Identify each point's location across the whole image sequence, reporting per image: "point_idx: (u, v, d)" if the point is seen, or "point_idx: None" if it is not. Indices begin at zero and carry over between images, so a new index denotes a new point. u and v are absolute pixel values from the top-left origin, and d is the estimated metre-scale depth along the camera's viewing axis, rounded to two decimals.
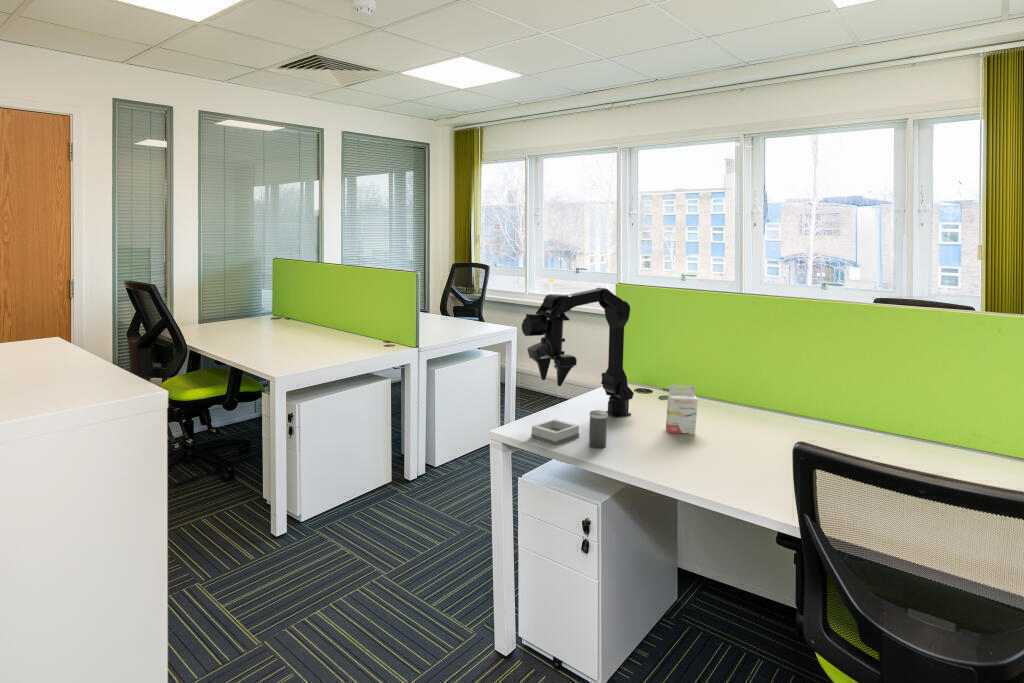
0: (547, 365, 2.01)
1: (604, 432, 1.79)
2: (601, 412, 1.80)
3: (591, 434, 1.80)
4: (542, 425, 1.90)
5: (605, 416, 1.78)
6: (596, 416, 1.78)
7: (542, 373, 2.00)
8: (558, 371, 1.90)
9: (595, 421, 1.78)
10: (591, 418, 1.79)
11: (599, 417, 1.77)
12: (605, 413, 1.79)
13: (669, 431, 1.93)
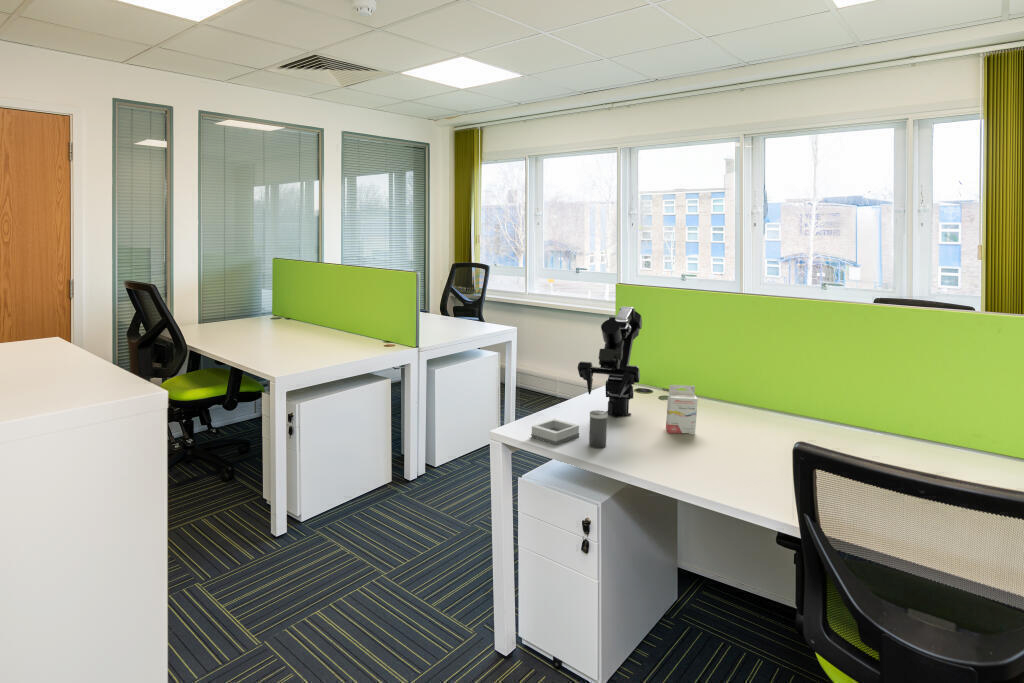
0: (591, 383, 1.91)
1: (604, 432, 1.79)
2: (601, 412, 1.80)
3: (591, 434, 1.80)
4: (542, 425, 1.90)
5: (605, 416, 1.78)
6: (596, 416, 1.78)
7: (590, 386, 1.88)
8: (625, 380, 1.86)
9: (595, 421, 1.78)
10: (591, 418, 1.79)
11: (599, 417, 1.77)
12: (605, 413, 1.79)
13: (669, 431, 1.93)
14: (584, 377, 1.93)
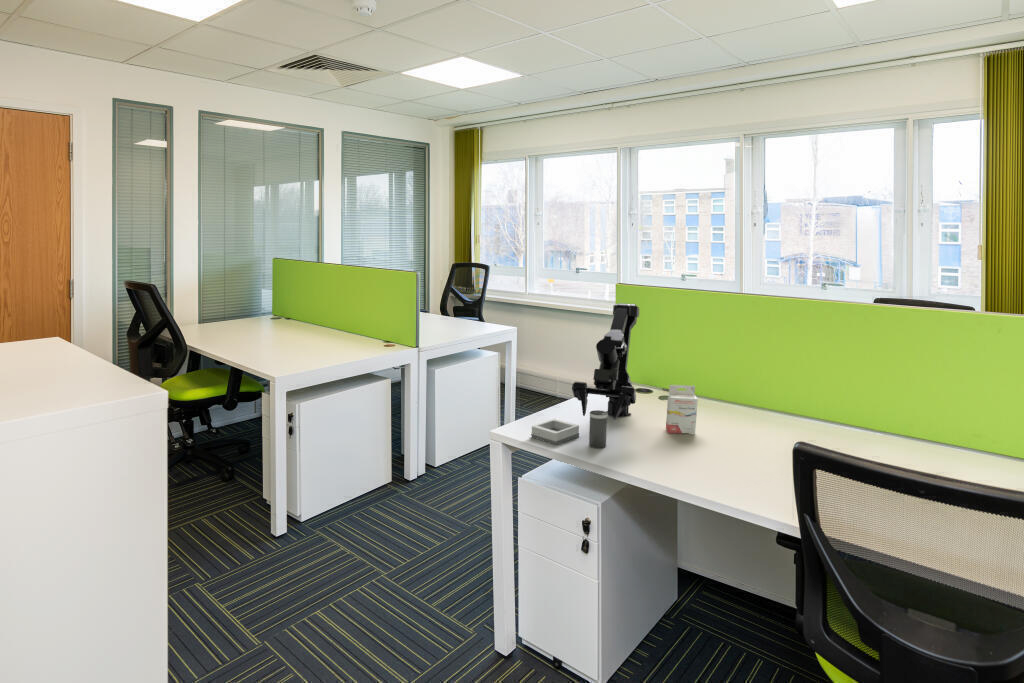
0: (586, 404, 1.86)
1: (604, 432, 1.79)
2: (601, 412, 1.80)
3: (591, 434, 1.80)
4: (542, 425, 1.90)
5: (605, 416, 1.78)
6: (596, 416, 1.78)
7: (585, 407, 1.83)
8: (621, 401, 1.80)
9: (595, 421, 1.78)
10: (591, 418, 1.79)
11: (599, 417, 1.77)
12: (605, 413, 1.79)
13: (669, 431, 1.93)
14: (579, 398, 1.88)
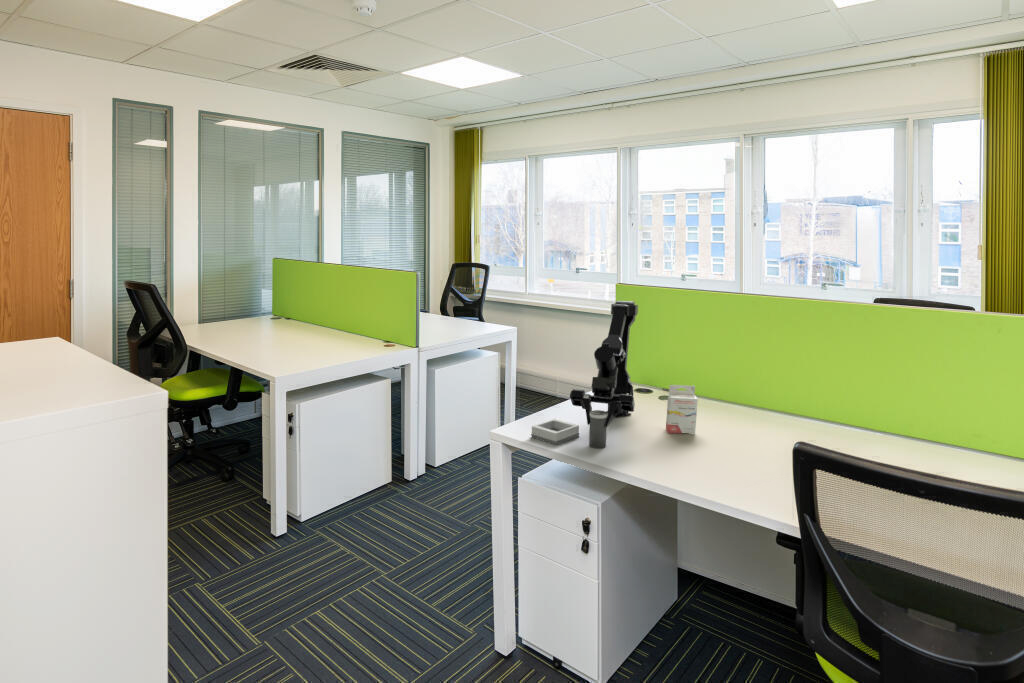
0: None
1: (604, 432, 1.79)
2: (601, 412, 1.80)
3: (591, 434, 1.80)
4: (542, 425, 1.90)
5: (605, 416, 1.78)
6: (596, 416, 1.78)
7: (589, 416, 1.81)
8: (613, 409, 1.79)
9: (595, 420, 1.78)
10: (591, 418, 1.79)
11: (599, 417, 1.77)
12: (605, 413, 1.79)
13: (669, 431, 1.93)
14: (583, 406, 1.85)
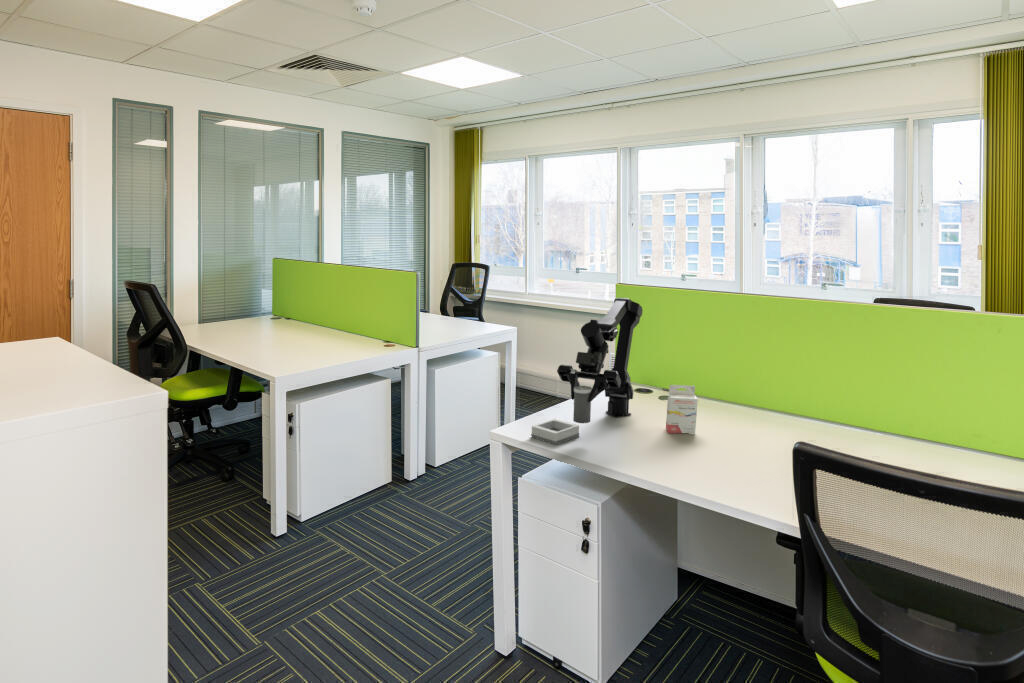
0: None
1: (588, 407, 1.80)
2: (585, 387, 1.81)
3: (574, 409, 1.81)
4: (542, 425, 1.90)
5: (588, 391, 1.79)
6: (579, 391, 1.79)
7: None
8: (596, 384, 1.80)
9: (578, 395, 1.79)
10: (575, 393, 1.80)
11: (582, 392, 1.78)
12: (589, 388, 1.80)
13: (669, 431, 1.93)
14: None
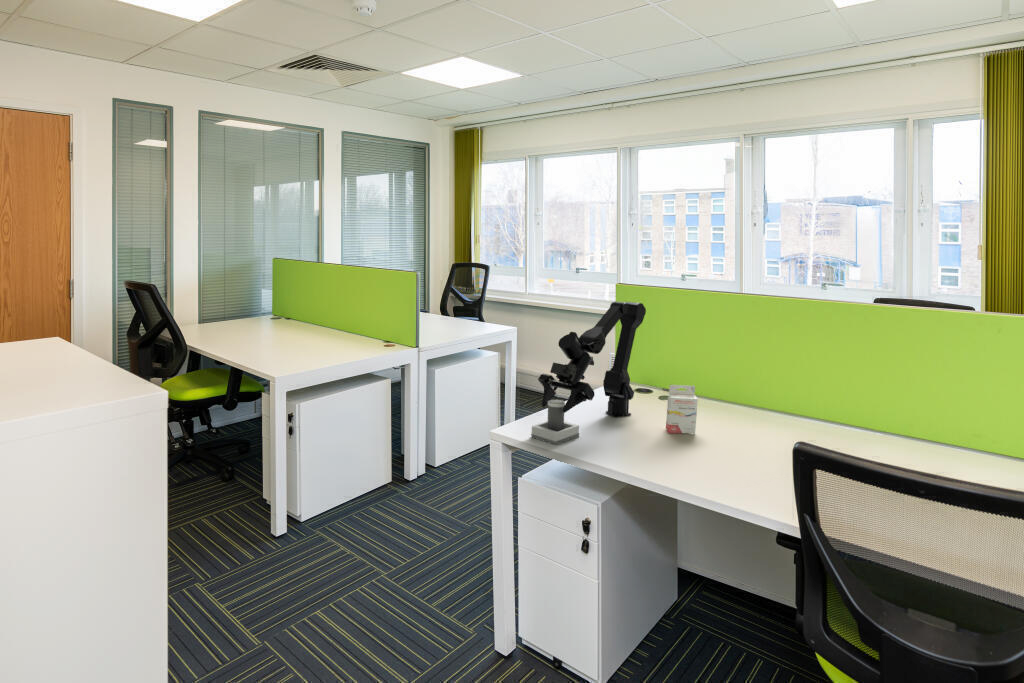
0: (551, 396, 1.92)
1: (559, 421, 1.86)
2: (559, 401, 1.87)
3: None
4: (542, 425, 1.90)
5: (559, 405, 1.85)
6: (550, 404, 1.85)
7: (545, 399, 1.90)
8: (572, 396, 1.84)
9: (549, 408, 1.86)
10: (548, 406, 1.87)
11: (553, 405, 1.85)
12: (561, 403, 1.86)
13: (669, 431, 1.93)
14: None
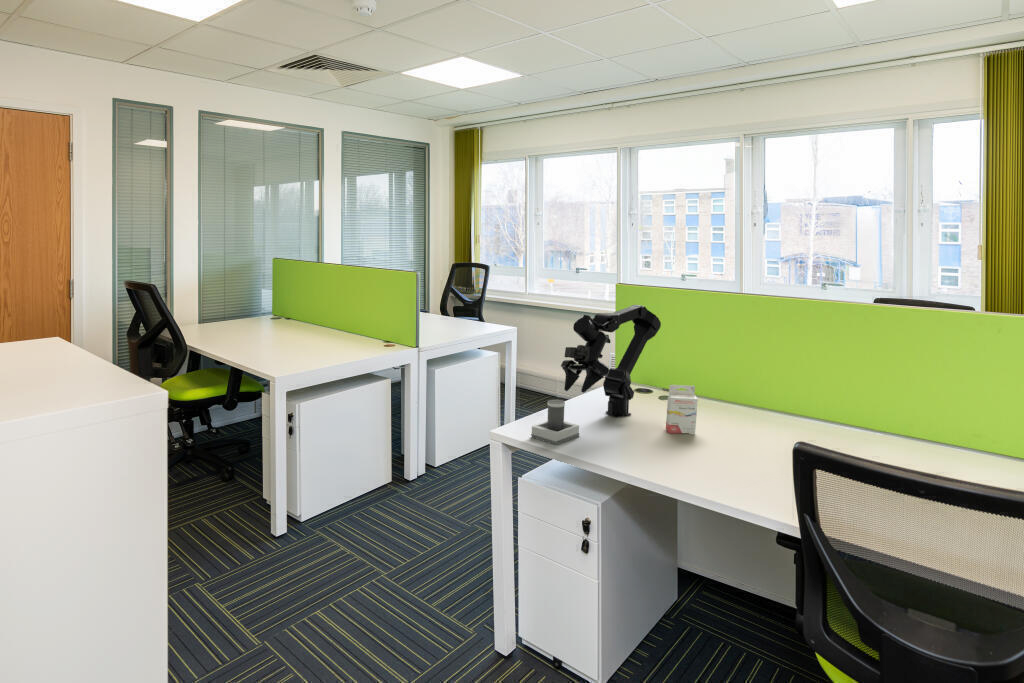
0: (574, 380, 2.00)
1: (559, 421, 1.86)
2: (559, 401, 1.87)
3: None
4: (542, 425, 1.90)
5: (559, 405, 1.85)
6: (550, 404, 1.85)
7: (567, 383, 1.99)
8: (588, 375, 1.90)
9: (549, 408, 1.86)
10: (548, 406, 1.87)
11: (553, 405, 1.85)
12: (561, 403, 1.86)
13: (669, 431, 1.93)
14: None
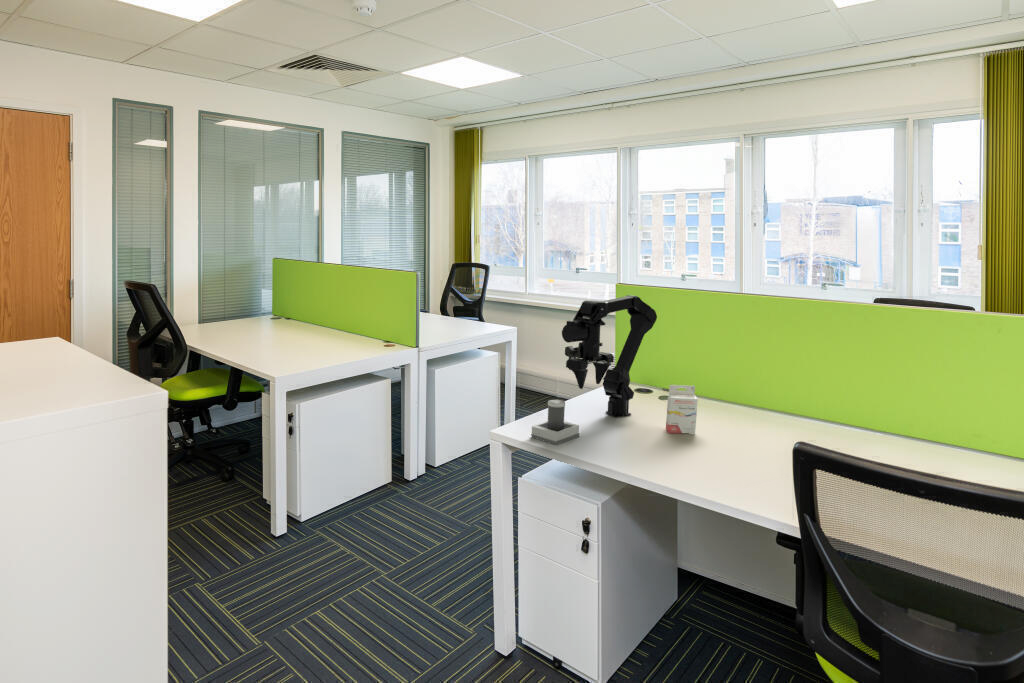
0: (602, 370, 2.04)
1: (559, 421, 1.86)
2: (559, 401, 1.87)
3: None
4: (542, 425, 1.90)
5: (559, 405, 1.85)
6: (550, 404, 1.85)
7: (596, 377, 2.06)
8: None
9: (550, 408, 1.86)
10: (548, 406, 1.87)
11: (553, 405, 1.85)
12: (562, 403, 1.86)
13: (669, 431, 1.93)
14: None
